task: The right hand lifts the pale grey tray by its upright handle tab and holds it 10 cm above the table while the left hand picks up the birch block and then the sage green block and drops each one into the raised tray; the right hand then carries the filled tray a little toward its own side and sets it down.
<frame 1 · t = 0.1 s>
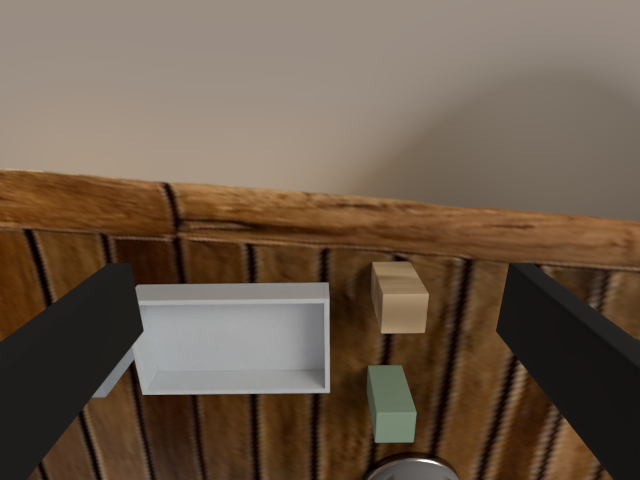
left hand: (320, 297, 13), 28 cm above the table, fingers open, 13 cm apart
tray: (238, 329, 46), on the table
sage block: (383, 378, 48), on the table
birch block: (389, 278, 43), on the table
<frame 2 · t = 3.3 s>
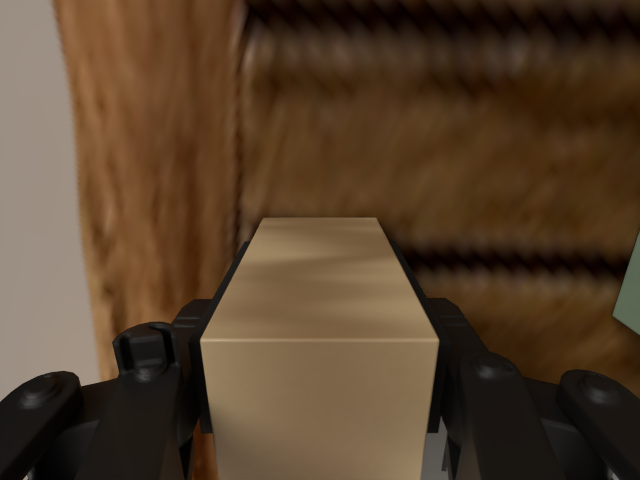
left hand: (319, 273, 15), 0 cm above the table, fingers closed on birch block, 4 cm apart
birch block: (319, 269, 15), on the table, touching left hand
when the left hand's fingers open (18 cm above the table, at t = 7.5 s): birch block drops 8 cm, resting on tray.
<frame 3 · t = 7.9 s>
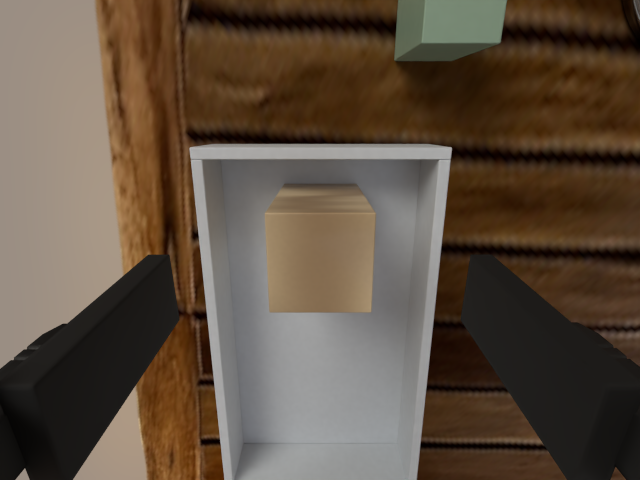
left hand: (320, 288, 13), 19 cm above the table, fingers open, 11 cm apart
tray: (320, 314, 25), point 9 cm above the table, touching birch block, right hand
sage block: (426, 28, 27), on the table
birch block: (320, 219, 23), point 9 cm above the table, touching tray
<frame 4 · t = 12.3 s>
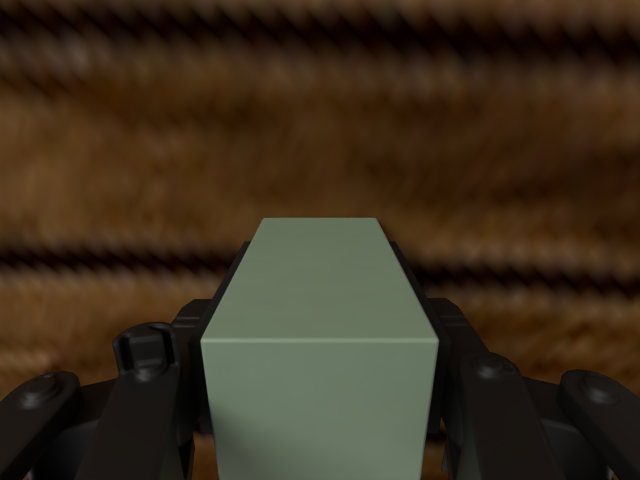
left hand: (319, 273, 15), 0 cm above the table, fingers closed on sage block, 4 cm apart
sage block: (319, 269, 15), on the table, touching left hand
when the left hand's fingers open (18 cm above the table, at t = 16.2 s): sage block drops 9 cm, resting on tray.
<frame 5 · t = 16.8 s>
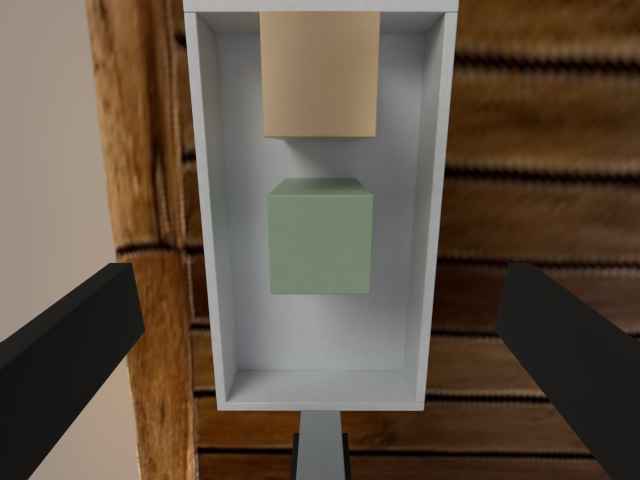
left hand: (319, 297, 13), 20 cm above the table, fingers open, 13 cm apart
tray: (320, 220, 24), point 8 cm above the table, tilted 6°, touching birch block, right hand, sage block
sage block: (320, 213, 23), point 9 cm above the table, tilted 5°, touching tray
birch block: (320, 101, 22), point 8 cm above the table, tilted 6°, touching tray
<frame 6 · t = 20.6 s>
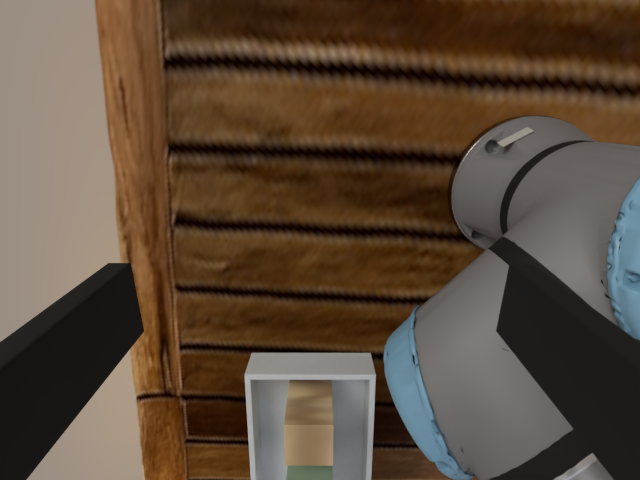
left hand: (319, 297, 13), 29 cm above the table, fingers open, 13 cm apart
tray: (311, 439, 43), point 8 cm above the table, tilted 6°, touching birch block, right hand, sage block
sage block: (311, 438, 42), point 8 cm above the table, tilted 6°, touching tray
birch block: (311, 388, 40), point 8 cm above the table, tilted 6°, touching tray
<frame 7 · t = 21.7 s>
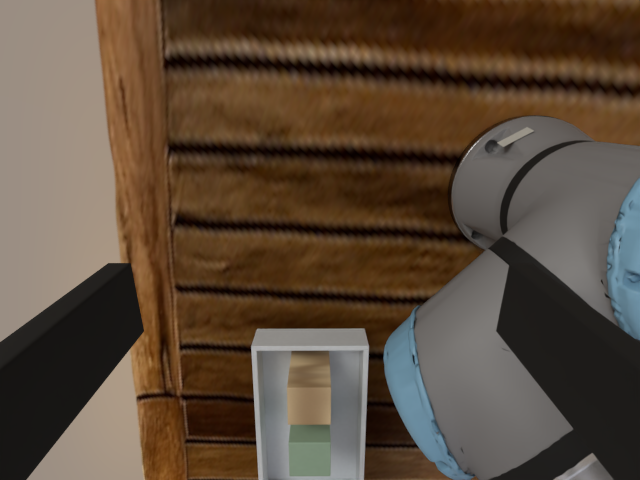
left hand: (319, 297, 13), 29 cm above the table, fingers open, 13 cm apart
tray: (311, 408, 47), point 3 cm above the table, tilted 5°, touching birch block, right hand, sage block
sage block: (311, 407, 46), point 4 cm above the table, tilted 5°, touching tray
birch block: (310, 361, 45), point 3 cm above the table, tilted 5°, touching tray
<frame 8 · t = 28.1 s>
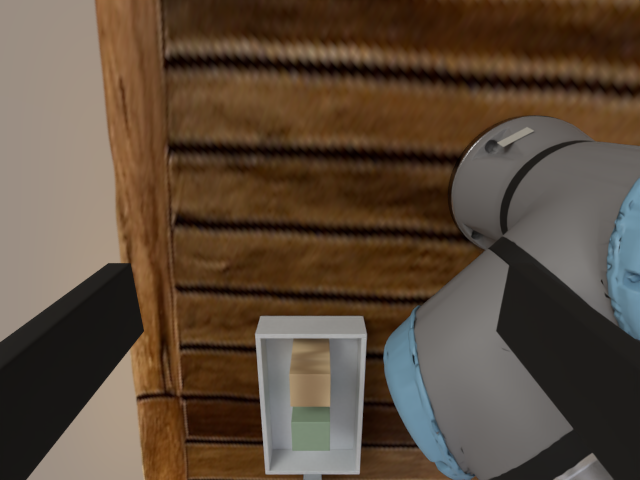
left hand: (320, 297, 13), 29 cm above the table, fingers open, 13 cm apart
tray: (312, 387, 50), on the table, touching birch block, sage block
sage block: (312, 387, 49), resting on tray
birch block: (311, 346, 47), resting on tray
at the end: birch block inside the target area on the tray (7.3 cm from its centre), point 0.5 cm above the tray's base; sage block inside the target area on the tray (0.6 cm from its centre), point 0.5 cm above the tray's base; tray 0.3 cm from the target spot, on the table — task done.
